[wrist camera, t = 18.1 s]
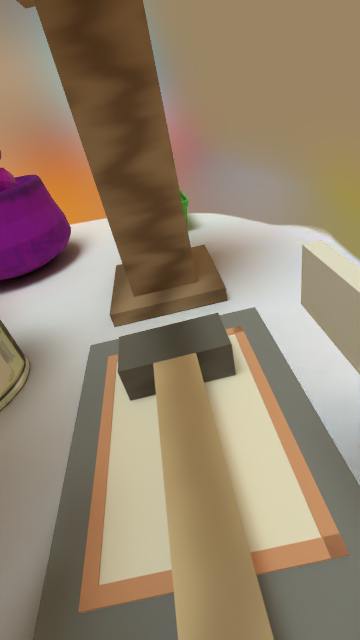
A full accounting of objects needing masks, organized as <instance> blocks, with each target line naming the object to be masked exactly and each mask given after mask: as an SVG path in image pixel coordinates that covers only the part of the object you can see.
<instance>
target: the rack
mask: <svg viewBox="0 0 360 640" xmlns="http://www.w3.org/2000/svg"><path fill="white" fill-rule="evenodd" d="M17 1H18V2H19V3H20V4H21V5H22V6H23V7H25V8H29V7H33V6H36V9H37V11H38V15H39V17H40V21H41V24H42V27H43V30H44V33H45V35H46V38H47V41H48V44H49V47H50V50H51V53H52V56H53V59H54V62H55V65H56V68H57V71H58V74H59V77H60V80H61V83H62V86H63V89H64V91H65V95H66V98H67V101H68V103H69V106H70V109H71V112H72V115H73V118H74V121H75V124H76V127H77V130H78V133H79V136H80V139H81V142H82V145H83V148H84V151H85V154H86V156H87V160H88V162H89V166H90V169H91V172H92V174H93V177H94V180H95V183H96V186H97V189H98V192H99V195H100V198H101V201H102V204H103V207H104V210H105V213H106V216H107V219H108V222H109V225H110V228H111V231H112V234H113V237H114V239H115V242H116V245H117V248H118V251H119V254H120V257H121V260H122V263H123V264H121V265H117V266H116V272H115V280H114V287H113V295H112V302H111V310H110V317H111V319H112V322H113V324H114V327H115V326H120V325H124V324H128V323H133V322H137V321H141V320H145V319H150V318H154V317H158V316H162V315H167V314H171V313H175V312H180V311H184V310H188V309H192V308H197V307H201V306H205V305H209V304H214V303H218V302H222V301H226V300H227V295H226V288H225V286H224V284H223V282H222V280H221V278H220V275H219V273H218V271H217V269H216V267H215V265H214V263H213V261H212V259H211V257H210V255H209V253H208V251H207V249H206V247H205V245H201V246H196V247H192V248H191V247H190V242H189V236H188V231H187V226H186V221H185V216H184V211H183V205H182V200H181V195H180V190H179V185H178V180H177V175H176V169H175V165H174V159H173V154H172V149H171V144H170V138H169V134H168V128H167V123H166V118H165V113H164V107H163V103H162V97H161V92H160V87H159V82H158V77H157V72H156V66H155V61H154V56H153V51H152V45H151V40H150V35H149V30H148V25H147V20H146V14H145V9H144V5H143V0H17Z"/></svg>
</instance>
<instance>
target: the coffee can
mask: <svg viewBox="0 0 360 640" xmlns="http://www.w3.org/2000/svg"><path fill="white" fill-rule="evenodd" d="M0 354H1V356H2V357H3V359H4V360H5V361H6V363H7V364H8V366H9V367H10V368H11V370H12V373H11V375H10V377H9V379H8V381H7V383H6V385H5V387H4V390H3V392H2V394H1V396H0V410H1V409H2V408H3V407H4V406H6V405H7V404H8V403H9V402H10V401H11V400H12V398H13V397H14V396H15V395H16V394H17V393H18V392H19V390H20V389H21V387H22V386H23V385H24V383H25V381H26V379H27V377H28V373H29V370H30V366H29V361H28V359H27V357H26V356H25V355H24V354H23V353H22V351H21V350H20V348H19V347H18V345H17V344H16V342H15V341H14V339H13V338H12V336H11V335H10V333H9V332H8V330H7V329H6V327H5V326H4V324H3V323H2V321H1V320H0Z"/></svg>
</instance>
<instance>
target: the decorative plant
mask: <svg viewBox="0 0 360 640" xmlns="http://www.w3.org/2000/svg"><path fill="white" fill-rule="evenodd" d="M0 159H1V151H0ZM70 234H71V227H70V225H69V223H68V222H67V219H66V217H65V215H64V213H63V212H62V211H61V209H60V208H59V207H58V205H57V204H56V203H55V202H54V200H53V199H52V197H51V196H50V194H49V192H48V191H47V189H46V187H45V186H44V184H43V182H42V181H41V179H40V178H39V176H37V175H26V176H21V177H15V178H14V177H13V176H12V174H11V173H9V172H8V171H6V170H5V169H4V168H0V280H4V279H10V278H14V277H18V276H21V275H24V274H27V273H30V272H32V271H34V270H36V269H38V268H40V267H42V266H43V265H45V264H46V263H48V262H49V261H50V260H52V259H53V258H54V257H56V256H57V255H58V254H60V253H61V252H62V251H63V249H64V248H65V247H66V246H67V244H68V240H69V237H70Z"/></svg>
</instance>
